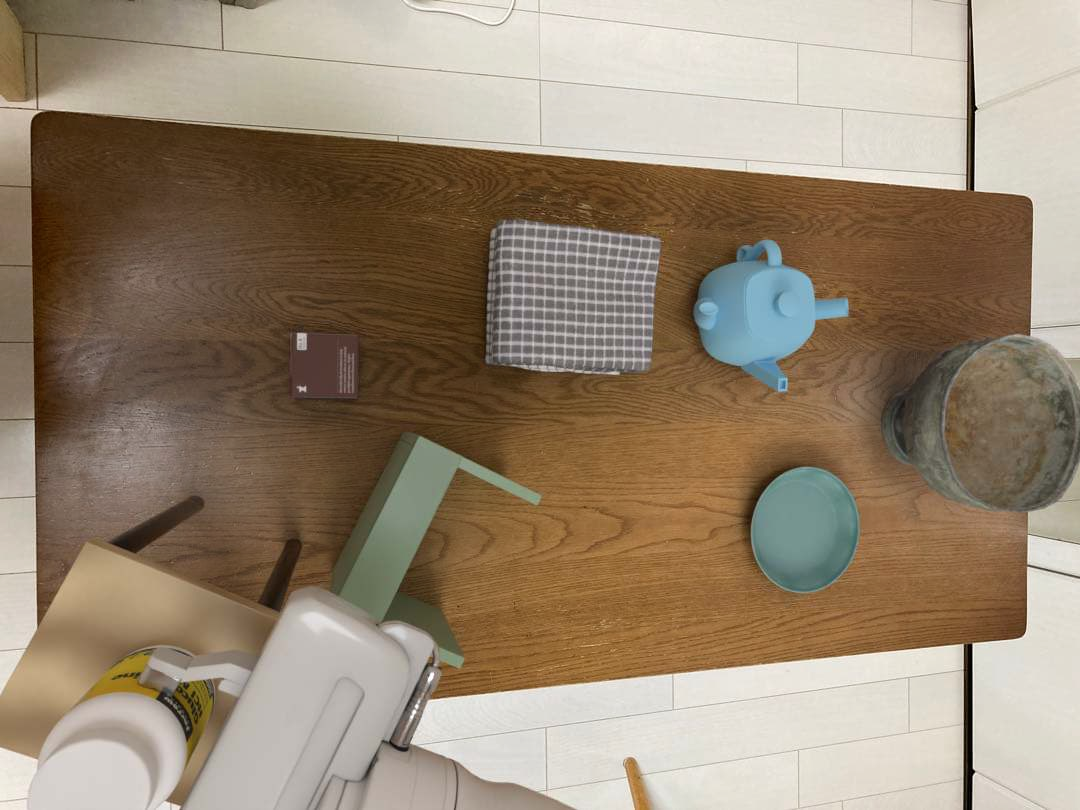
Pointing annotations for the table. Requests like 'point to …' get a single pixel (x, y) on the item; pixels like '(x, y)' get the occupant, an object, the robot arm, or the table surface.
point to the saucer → (805, 529)
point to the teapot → (759, 312)
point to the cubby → (406, 536)
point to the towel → (570, 298)
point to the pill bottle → (122, 742)
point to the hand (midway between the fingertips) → (108, 737)
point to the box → (324, 366)
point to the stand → (123, 641)
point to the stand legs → (186, 509)
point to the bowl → (991, 424)
